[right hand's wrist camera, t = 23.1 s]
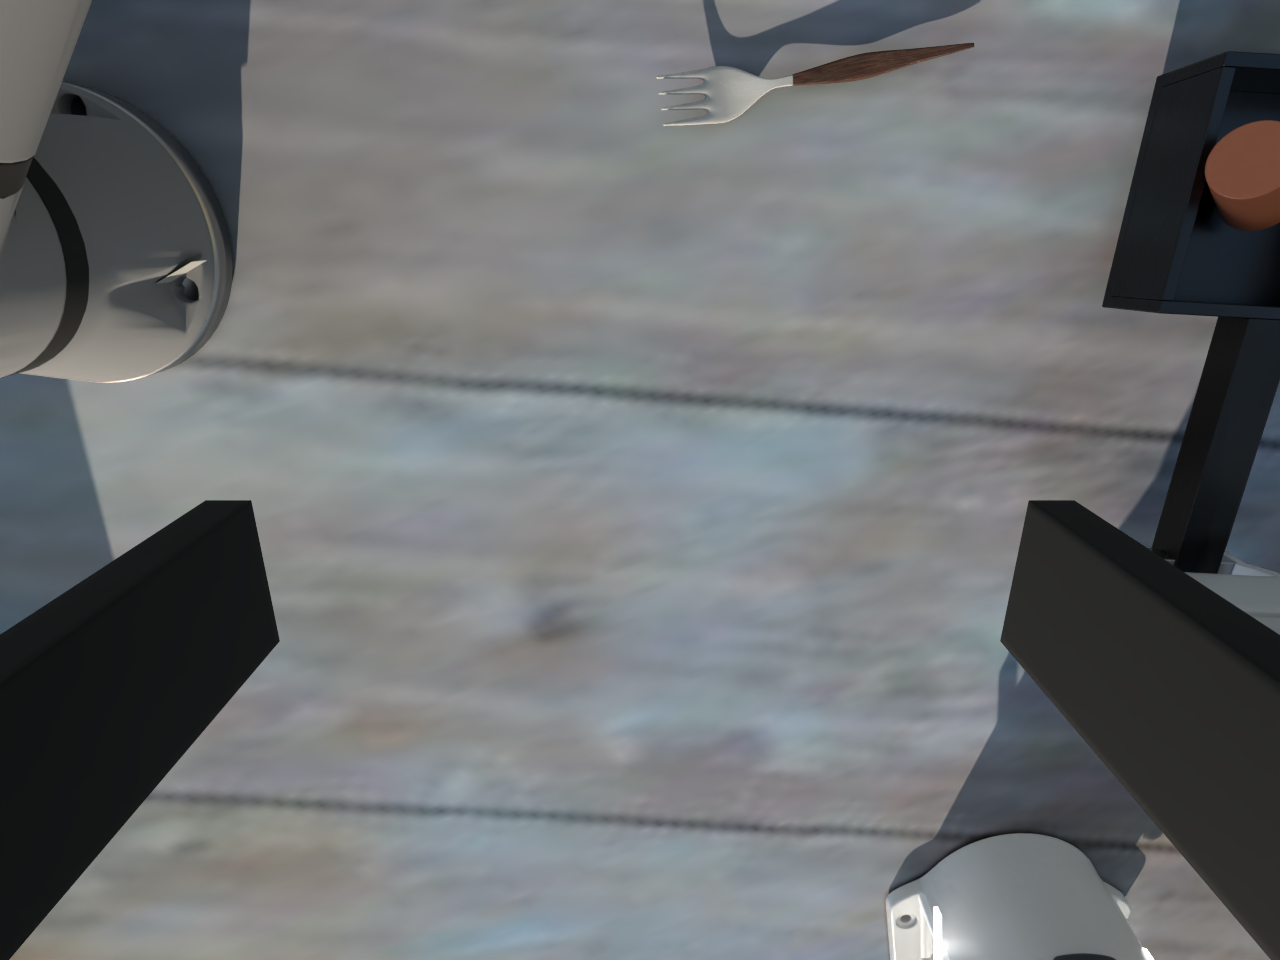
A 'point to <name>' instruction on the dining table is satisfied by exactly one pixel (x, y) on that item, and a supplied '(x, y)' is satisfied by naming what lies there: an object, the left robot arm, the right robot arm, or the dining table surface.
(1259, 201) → the peg
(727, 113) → the fork
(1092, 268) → the dining table surface
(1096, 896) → the left robot arm
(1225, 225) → the pan
